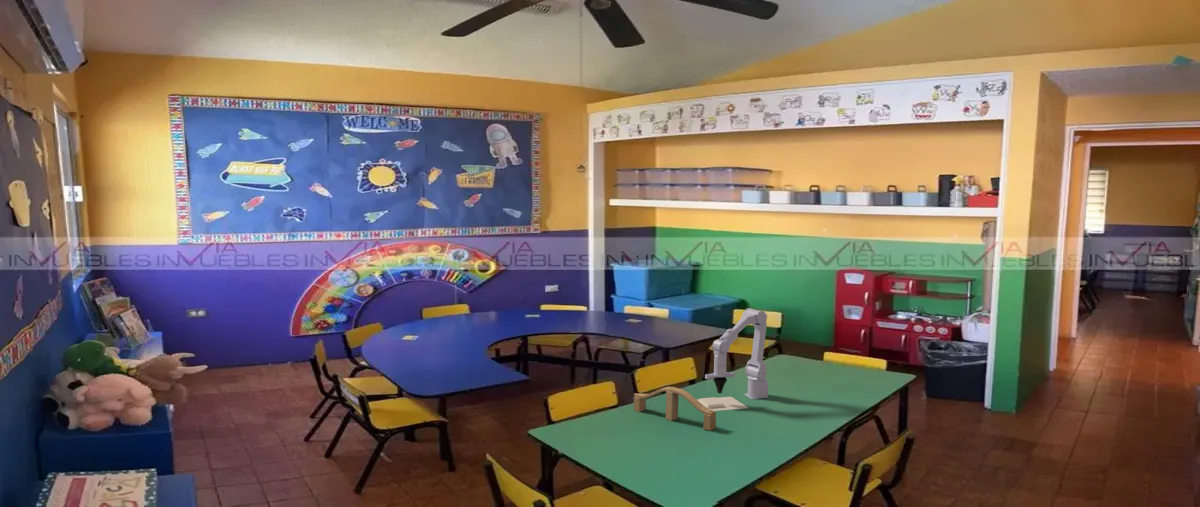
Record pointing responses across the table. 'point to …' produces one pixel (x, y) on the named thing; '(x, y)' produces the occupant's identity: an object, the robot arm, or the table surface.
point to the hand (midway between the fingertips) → (719, 392)
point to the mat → (727, 404)
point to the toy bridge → (676, 405)
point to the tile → (711, 402)
